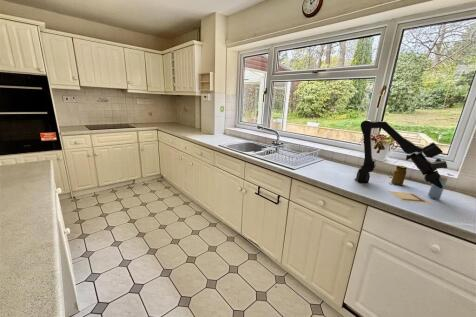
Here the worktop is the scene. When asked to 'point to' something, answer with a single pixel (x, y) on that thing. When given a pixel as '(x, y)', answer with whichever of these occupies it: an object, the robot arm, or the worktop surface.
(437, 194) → the canister
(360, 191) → the worktop surface
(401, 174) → the condiment
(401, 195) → the card
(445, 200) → the worktop surface
